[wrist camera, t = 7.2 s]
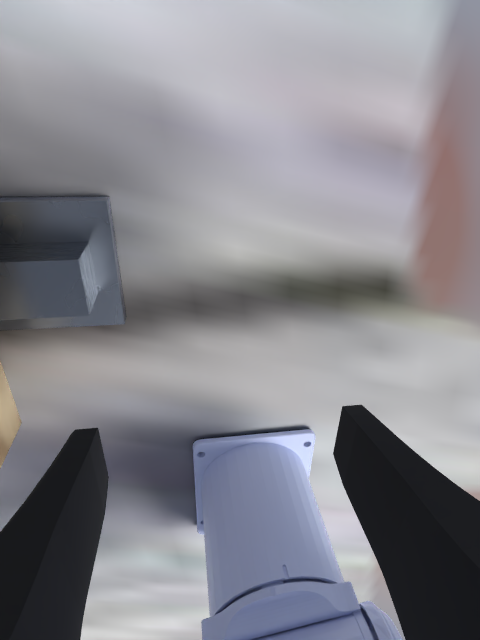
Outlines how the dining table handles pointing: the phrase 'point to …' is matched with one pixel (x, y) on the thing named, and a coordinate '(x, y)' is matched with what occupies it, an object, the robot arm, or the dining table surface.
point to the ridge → (58, 263)
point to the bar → (7, 417)
